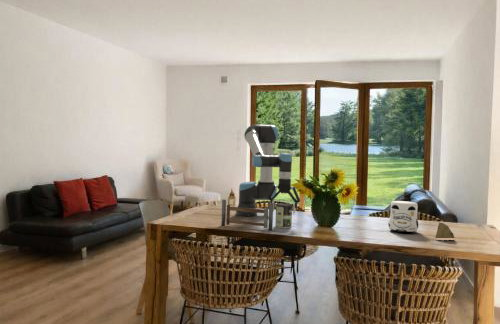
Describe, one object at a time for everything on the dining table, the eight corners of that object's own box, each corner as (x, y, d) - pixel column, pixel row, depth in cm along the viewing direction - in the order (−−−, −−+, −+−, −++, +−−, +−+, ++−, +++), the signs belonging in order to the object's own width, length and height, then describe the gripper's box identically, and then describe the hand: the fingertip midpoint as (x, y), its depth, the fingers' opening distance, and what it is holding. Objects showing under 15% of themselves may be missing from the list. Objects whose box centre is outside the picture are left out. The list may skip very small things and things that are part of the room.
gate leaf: (227, 224, 261) (227, 204, 260) (267, 227, 253) (268, 208, 252) (225, 224, 259) (226, 205, 258) (266, 228, 251) (267, 208, 251)
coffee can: (292, 225, 267) (293, 203, 267) (290, 228, 257) (291, 205, 257) (276, 224, 270) (276, 202, 269) (273, 227, 259) (274, 204, 259)
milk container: (397, 235, 250) (399, 204, 249) (382, 228, 267) (384, 200, 266) (423, 234, 253) (425, 204, 252) (407, 228, 270) (409, 200, 269)
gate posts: (222, 225, 262) (223, 199, 261) (272, 230, 252) (273, 203, 252) (220, 225, 260) (221, 199, 259) (271, 230, 250) (272, 203, 249)
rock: (456, 235, 242) (438, 231, 247) (458, 225, 237) (439, 221, 242) (452, 249, 235) (433, 244, 240) (454, 239, 230) (434, 234, 235)
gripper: (263, 177, 262) (262, 211, 264) (303, 180, 255) (302, 215, 256) (267, 176, 269) (265, 209, 271) (305, 179, 262) (304, 212, 263)
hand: (283, 212), depth 263 cm, fingers open, 13 cm apart
